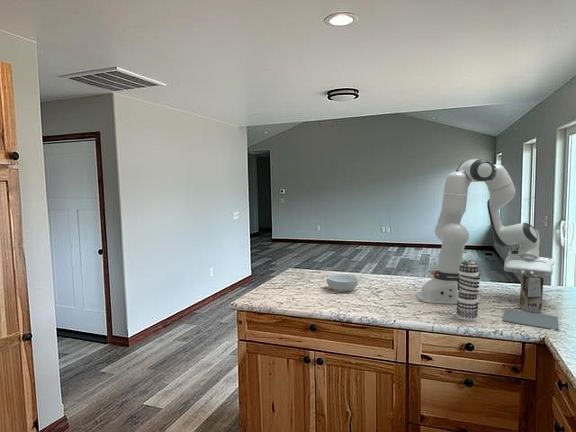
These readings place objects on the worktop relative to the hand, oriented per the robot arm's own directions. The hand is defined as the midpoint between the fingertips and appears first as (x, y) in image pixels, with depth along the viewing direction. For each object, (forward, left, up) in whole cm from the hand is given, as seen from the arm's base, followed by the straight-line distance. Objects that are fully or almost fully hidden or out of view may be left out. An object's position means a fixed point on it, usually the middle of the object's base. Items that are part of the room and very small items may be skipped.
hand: (526, 279), depth 189 cm
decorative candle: (-36, -15, -13) cm, 41 cm away
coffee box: (-2, -6, -13) cm, 14 cm away
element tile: (-17, +42, -13) cm, 47 cm away
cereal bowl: (-83, +30, -13) cm, 89 cm away
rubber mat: (-10, -19, -12) cm, 25 cm away
